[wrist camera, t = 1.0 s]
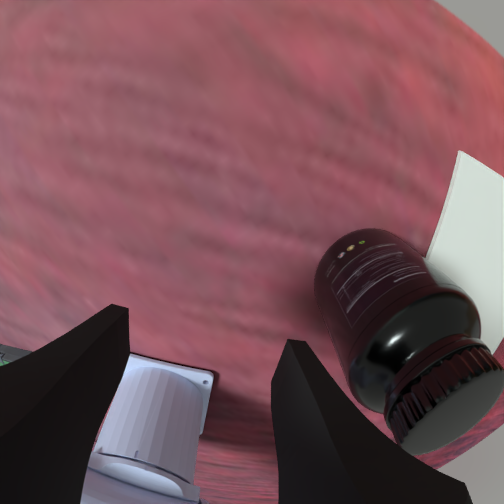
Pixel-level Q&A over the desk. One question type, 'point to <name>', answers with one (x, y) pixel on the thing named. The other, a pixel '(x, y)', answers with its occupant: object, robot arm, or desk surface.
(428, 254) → the mat
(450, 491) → the robot arm
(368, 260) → the supplement bottle
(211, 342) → the desk surface
